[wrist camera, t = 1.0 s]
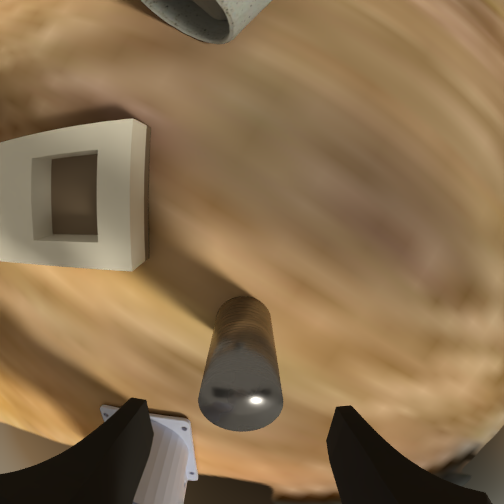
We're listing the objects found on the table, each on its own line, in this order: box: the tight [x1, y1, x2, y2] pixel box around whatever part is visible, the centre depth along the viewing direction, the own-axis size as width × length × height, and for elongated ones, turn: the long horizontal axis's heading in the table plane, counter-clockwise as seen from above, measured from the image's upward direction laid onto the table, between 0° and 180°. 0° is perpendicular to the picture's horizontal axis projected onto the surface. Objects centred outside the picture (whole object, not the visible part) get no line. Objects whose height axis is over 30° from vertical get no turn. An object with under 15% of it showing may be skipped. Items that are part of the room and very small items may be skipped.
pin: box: [198, 297, 283, 431], centre depth 15 cm, size 4×4×8 cm
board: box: [0, 118, 151, 271], centre depth 15 cm, size 8×18×3 cm, turn 88°
